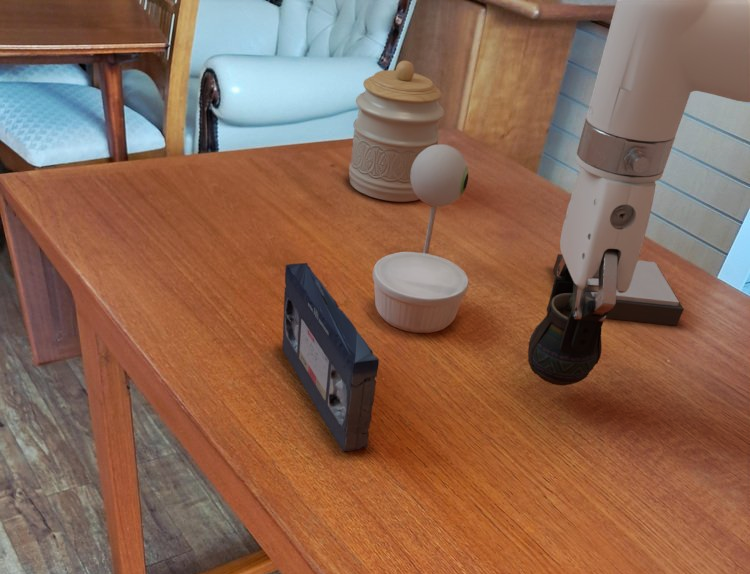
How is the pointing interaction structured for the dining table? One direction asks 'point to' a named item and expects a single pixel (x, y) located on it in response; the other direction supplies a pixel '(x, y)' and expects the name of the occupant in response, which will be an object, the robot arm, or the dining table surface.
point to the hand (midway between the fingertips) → (568, 331)
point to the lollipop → (438, 179)
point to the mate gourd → (547, 342)
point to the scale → (642, 297)
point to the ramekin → (418, 291)
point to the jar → (393, 131)
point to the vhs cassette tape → (329, 357)
